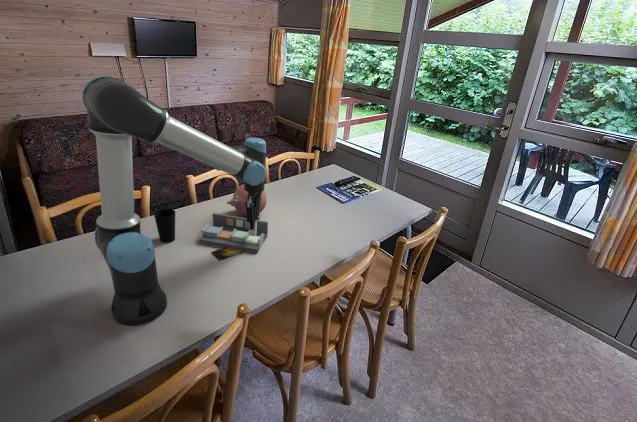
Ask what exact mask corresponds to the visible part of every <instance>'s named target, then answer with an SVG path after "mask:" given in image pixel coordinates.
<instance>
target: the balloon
mask: <svg viewBox="0 0 637 422" xmlns="http://www.w3.org/2000/svg"><path fill="white" fill-rule="evenodd" d="M248 194H249V193H248V192H247V191H245V190H244V183H243V184H241V185H239V186H238V187H237V188H236V189H235V190H234V193H233V194H232V195H233V196H232V198H231V199H230V200H228V201H227V202H226V204H227V205H230V206H231V207H234V209H235V210H236V211H237V212H238V213H239V214H240V215H243V216H245V217H247V214H246V206H245V203H246V202H248V199H247V196H248ZM266 206H267V194H266V191H262V195H261V202H260V210H259V214H261V213H262V212H263V211H264V209H265V208H266Z"/></svg>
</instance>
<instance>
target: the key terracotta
mask: <svg viewBox="0 0 637 422" xmlns="http://www.w3.org/2000/svg"><path fill="white" fill-rule="evenodd" d="M231 233H232V232H229V231H222V232H221V234H220V235H219V236H218V239H224V240H230V234H231Z"/></svg>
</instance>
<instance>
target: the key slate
mask: <svg viewBox="0 0 637 422" xmlns="http://www.w3.org/2000/svg"><path fill="white" fill-rule="evenodd" d="M219 229H220V227H214V226H212V225H209V227H208V228H207V229H206V230H205V231H204V232H205V236H207V237H212V238H216V232H217V231H218V230H219Z"/></svg>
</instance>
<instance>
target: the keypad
mask: <svg viewBox="0 0 637 422" xmlns="http://www.w3.org/2000/svg"><path fill="white" fill-rule="evenodd" d="M209 226H210V223H207V224H206V225H205V226H204V227H203V228H202V229H201V235H202V236H200V238H199V239H198V243H199V245H200V244H201V245H204V246H212V247H217V248H224V247H225V248H231V249H237V250H242V251H246V252H245V253H250V254H258V253H259V251H260V249H261V248H262V247H263V245H264V243H265V241H266V240H267V238H268V229H269V221H266V220H260V219H259V220H257V233H256V236H258V237H260V238H259V239H258V245H253V244H247V243H246V240H247V239H248V237H249V236H250V235H249V222H247V217H240V216H233V215H228V214H222V213H217V212H213V213H212V224H211V226H214V227H220V229H219V230H218V231H217V232H216V237H210V236H205V232H204V231H205V230H206V229H207V228H208V227H209ZM236 230H237V231H243V232H247V234H246V235H245V237H244V243H241V242H239V241H233V240H232V235H233V234H234V233H235V232H236ZM222 231H229V232H232V233H231V234H230V240H224V239H218V236H219V235H220V234H221V232H222Z"/></svg>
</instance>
